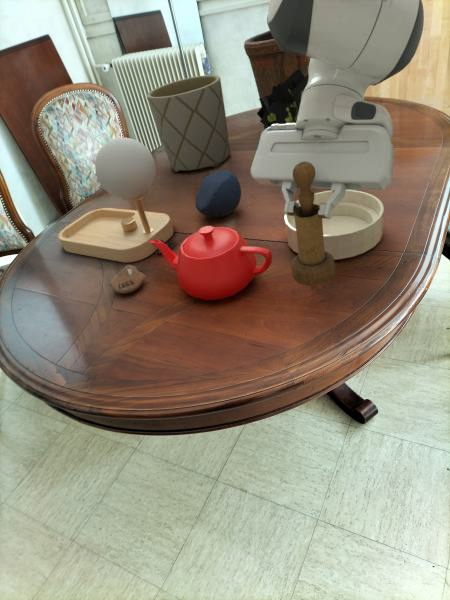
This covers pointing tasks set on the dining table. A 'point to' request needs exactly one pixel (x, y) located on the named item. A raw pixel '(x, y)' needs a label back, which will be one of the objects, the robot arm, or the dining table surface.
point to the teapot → (214, 262)
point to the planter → (191, 122)
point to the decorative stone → (218, 194)
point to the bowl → (346, 224)
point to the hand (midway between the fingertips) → (307, 216)
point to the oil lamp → (127, 280)
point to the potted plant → (283, 101)
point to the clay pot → (272, 62)
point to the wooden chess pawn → (309, 233)
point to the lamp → (119, 222)
